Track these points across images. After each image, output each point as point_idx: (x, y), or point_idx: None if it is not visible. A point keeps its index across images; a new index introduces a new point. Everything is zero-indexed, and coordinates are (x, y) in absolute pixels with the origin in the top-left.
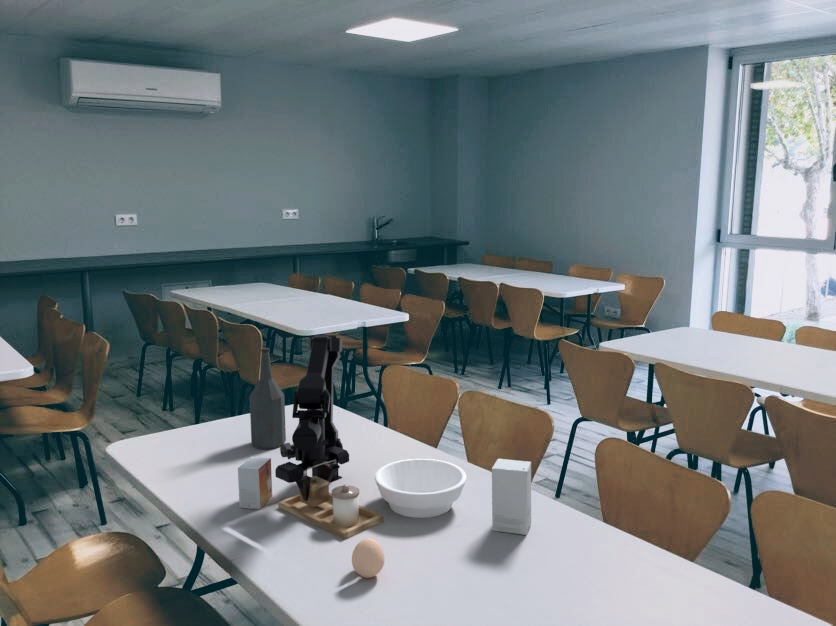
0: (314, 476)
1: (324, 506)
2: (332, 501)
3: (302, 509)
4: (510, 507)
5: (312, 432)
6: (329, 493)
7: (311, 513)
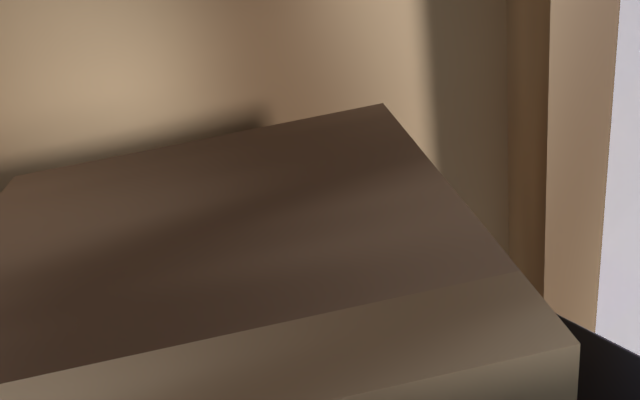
0: (512, 379)
1: None
2: (509, 224)
3: None
4: None
5: None
6: (584, 158)
7: None
